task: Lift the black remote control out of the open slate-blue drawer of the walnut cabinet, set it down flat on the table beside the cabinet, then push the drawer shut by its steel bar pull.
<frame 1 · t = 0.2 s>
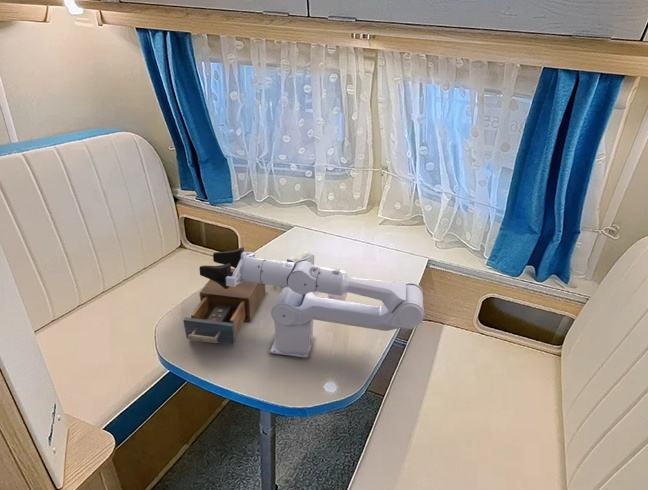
hand: (207, 263, 100), 21 cm above the table, tool horizontal, fingers open, 7 cm apart
medicine box: (300, 281, 136), on the table
remote: (219, 322, 112), point 2 cm above the table, touching drawer
cabinet: (235, 304, 123), on the table
drawer: (216, 321, 110), point 4 cm above the table, slide at 10.0 cm, touching remote
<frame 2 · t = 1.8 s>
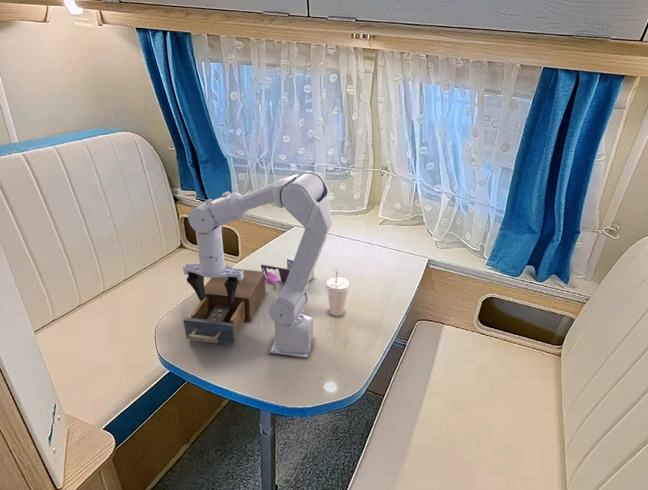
hand: (216, 300, 109), 9 cm above the table, tool pointing down, fingers open, 7 cm apart
nothing on the table moved.
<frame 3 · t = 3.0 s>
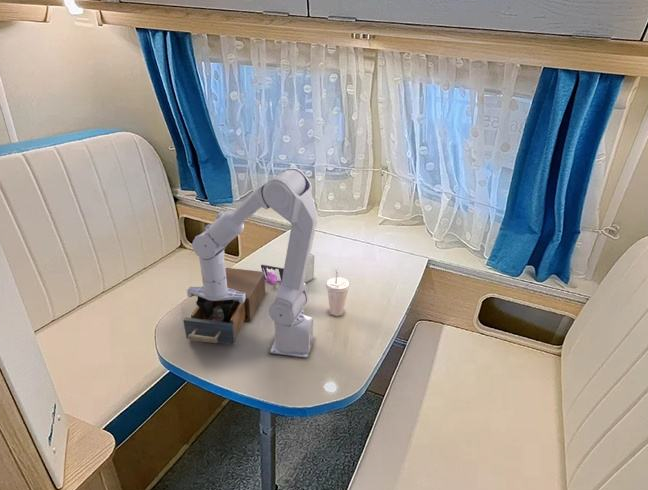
hand: (219, 321, 112), 2 cm above the table, tool pointing down, fingers closed on remote, 4 cm apart
remote: (219, 322, 112), point 2 cm above the table, touching drawer, gripper
everything else where it was.
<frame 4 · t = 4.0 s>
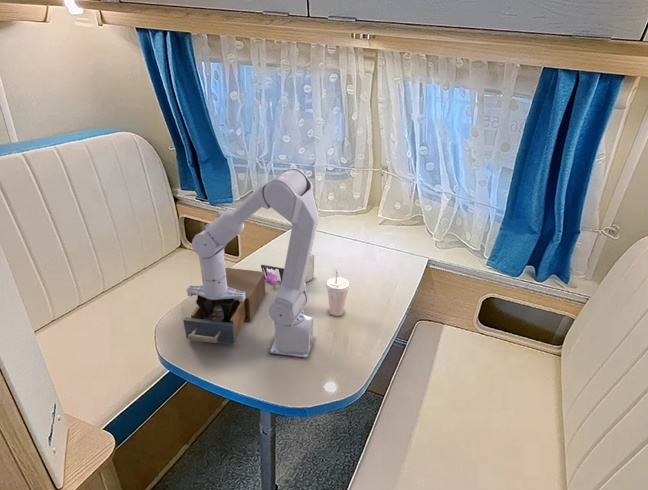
hand: (219, 320, 112), 3 cm above the table, tool pointing down, fingers closed on remote, 4 cm apart
remote: (219, 321, 112), point 2 cm above the table, touching gripper
drawer: (216, 321, 110), point 4 cm above the table, slide at 10.0 cm
everything else where it was.
when the fingers open (0 cm above the table, at t = 10.0 s): remote stays where it is, on the table.
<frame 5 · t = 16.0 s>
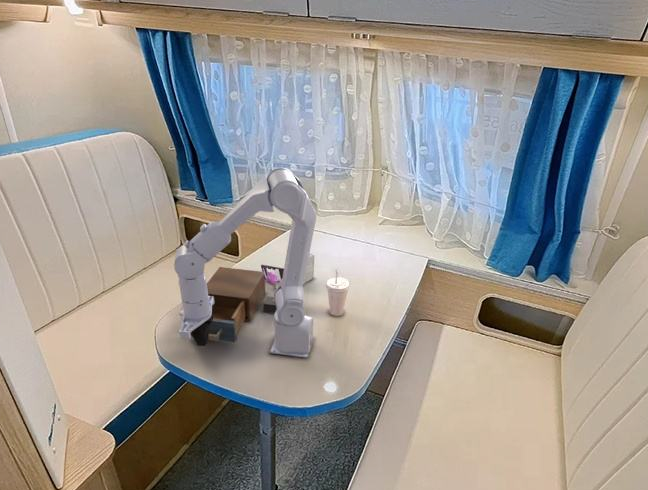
hand: (202, 344, 103), 3 cm above the table, tool pointing down, fingers closed
remote: (279, 309, 122), on the table
drawer: (217, 319, 111), point 4 cm above the table, slide at 9.0 cm, touching gripper
everything else where it was.
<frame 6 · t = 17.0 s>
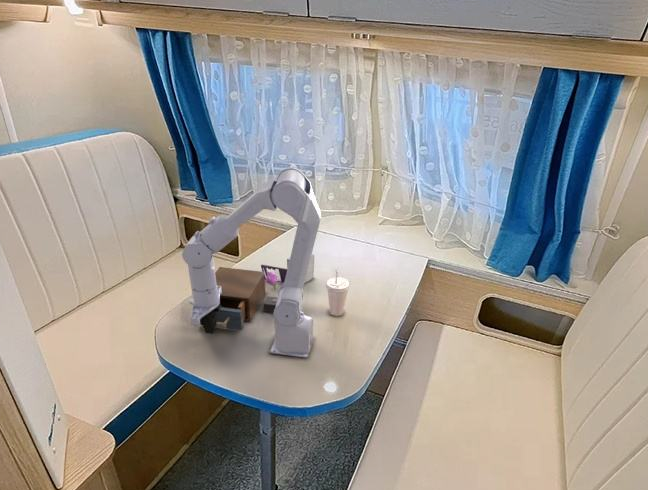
hand: (210, 331, 107), 3 cm above the table, tool pointing down, fingers closed
drawer: (224, 308, 115), point 4 cm above the table, slide at 4.1 cm, touching gripper
everything else where it was.
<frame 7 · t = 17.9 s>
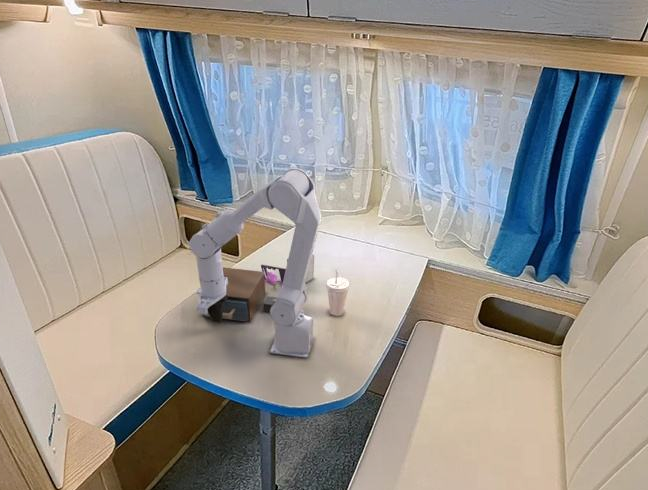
hand: (217, 321, 110), 3 cm above the table, tool pointing down, fingers closed, pressing on drawer
drawer: (229, 300, 118), point 4 cm above the table, slide at 0.0 cm, touching cabinet, gripper
everything else where it was.
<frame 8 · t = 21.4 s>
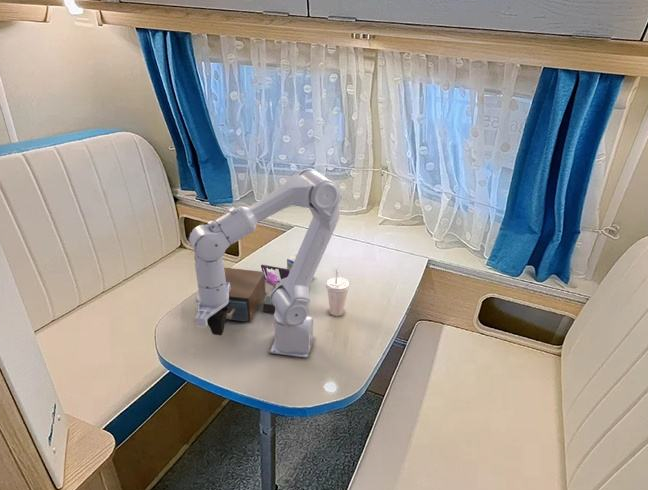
hand: (218, 333, 97), 9 cm above the table, tool pointing down, fingers closed
drawer: (229, 300, 118), point 4 cm above the table, slide at 0.0 cm, touching cabinet
everything else where it was.
at the end: remote 0.1 cm from the target spot, on the table; remote tilted 0°; drawer slide at 0.0 cm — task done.
